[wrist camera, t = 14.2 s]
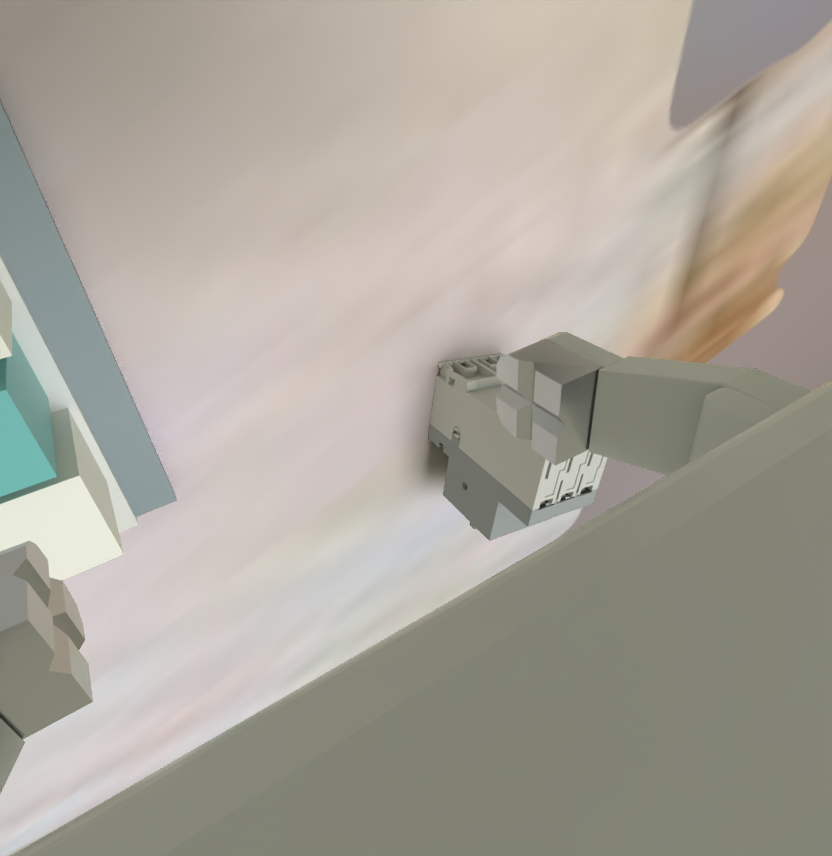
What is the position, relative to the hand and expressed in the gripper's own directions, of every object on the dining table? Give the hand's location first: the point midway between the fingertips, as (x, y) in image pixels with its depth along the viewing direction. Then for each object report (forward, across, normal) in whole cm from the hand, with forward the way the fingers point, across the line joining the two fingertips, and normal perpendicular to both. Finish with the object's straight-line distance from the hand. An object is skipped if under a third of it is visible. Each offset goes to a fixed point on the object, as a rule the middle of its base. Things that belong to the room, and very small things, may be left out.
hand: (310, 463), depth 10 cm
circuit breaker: (+31, -24, +27) cm, 48 cm away
